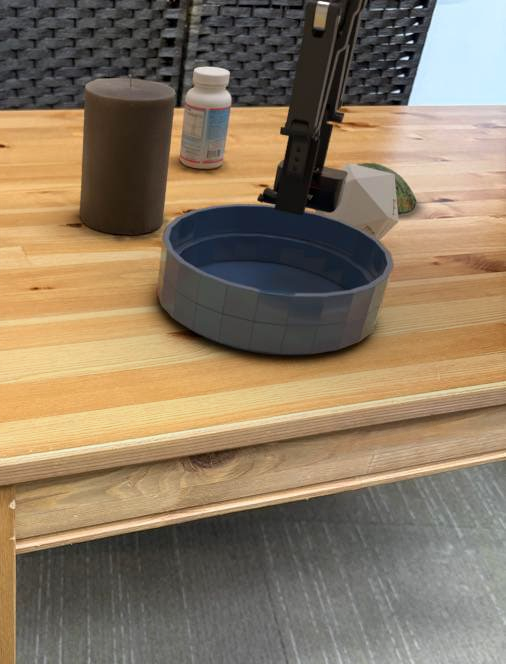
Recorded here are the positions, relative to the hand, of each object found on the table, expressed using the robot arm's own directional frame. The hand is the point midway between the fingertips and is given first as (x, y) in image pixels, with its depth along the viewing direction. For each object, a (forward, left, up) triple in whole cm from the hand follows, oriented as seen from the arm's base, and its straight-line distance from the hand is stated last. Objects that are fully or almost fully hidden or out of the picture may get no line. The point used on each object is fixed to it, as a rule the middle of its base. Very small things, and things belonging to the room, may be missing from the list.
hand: (296, 202), depth 78 cm
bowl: (0, +5, -8) cm, 10 cm away
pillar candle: (+21, -8, -8) cm, 24 cm away
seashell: (-4, -32, -8) cm, 33 cm away
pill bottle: (+20, -33, -8) cm, 39 cm away
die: (-4, -15, -8) cm, 17 cm away
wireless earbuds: (0, 0, 0) cm, 1 cm away
